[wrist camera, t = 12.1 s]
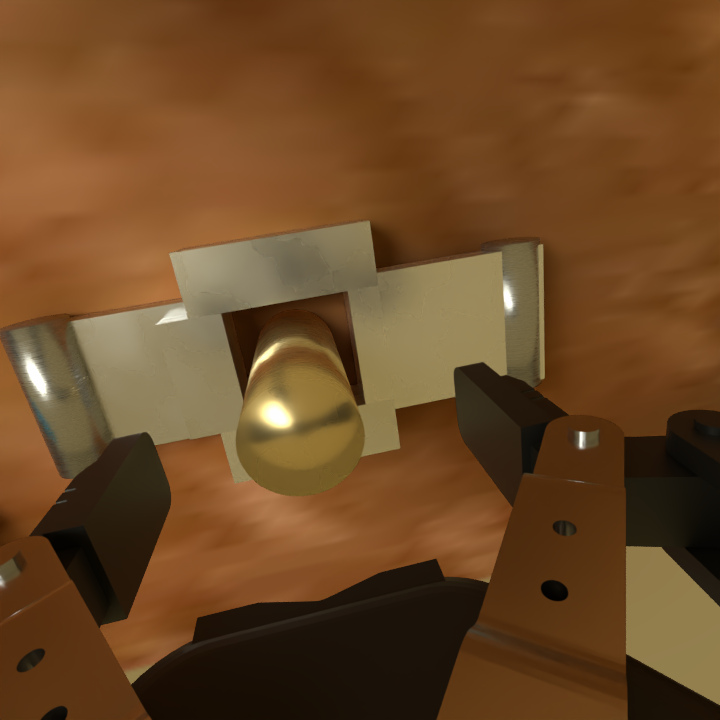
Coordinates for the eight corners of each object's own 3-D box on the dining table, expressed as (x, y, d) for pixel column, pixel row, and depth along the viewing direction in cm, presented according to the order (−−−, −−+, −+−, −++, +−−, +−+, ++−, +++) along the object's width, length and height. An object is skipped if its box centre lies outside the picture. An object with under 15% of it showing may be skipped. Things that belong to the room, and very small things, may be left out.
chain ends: (1, 277, 18) (-46, 288, 15) (518, 194, 20) (551, 191, 17) (88, 486, 21) (61, 524, 19) (524, 397, 23) (552, 419, 21)
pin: (249, 317, 20) (221, 395, 12) (327, 303, 20) (355, 370, 12) (266, 388, 21) (252, 507, 13) (339, 374, 21) (373, 481, 13)
